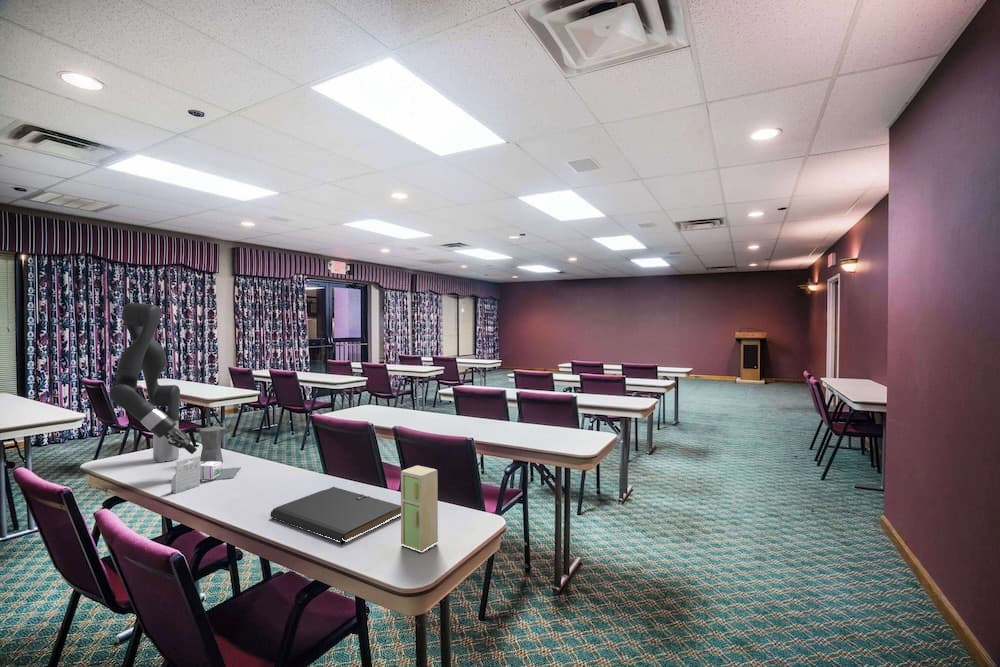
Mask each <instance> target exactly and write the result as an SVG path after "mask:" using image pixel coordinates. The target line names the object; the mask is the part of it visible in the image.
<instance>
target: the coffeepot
mask: <svg viewBox="0 0 1000 667" xmlns="http://www.w3.org/2000/svg"><path fill="white" fill-rule="evenodd" d="M227 431H229V429H228V428H226V427H222V426H215V425H214V422H213V421H210V422H209V426H206V427H204V428H203V427H193V428H191V430H189V432H188V437H189V439H190V442H191V445H193V446H194V447H195V448H199V447H200V444H197V441H196V439H195V434H194V433H197V434H198V433H199V435H200V440H201V446H202V449H201V452H200V461H218V462H222V463H223V462H224V459H223V454H222V449H221V448H222V447H221V444H222V440H223V437H224V436H225V434H226V433H227Z"/></svg>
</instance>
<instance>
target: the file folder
mask: <svg viewBox="0 0 1000 667" xmlns="http://www.w3.org/2000/svg"><path fill="white" fill-rule="evenodd" d="M400 513H401V504H396V503H392V502H389V501H385V500H381V499H378V498H374V497H371V496H370V495H365V494H361V493H357V492H354V491H351V490H350V491H349V490H347V489H343V488H340V487H336V486H332V487H329V488H327V489H323V490H319V491H317V492H314V493H312V494H309V495H305V496H304V497H301V498H297V499H295V500H292V501H290V502H289V501H288V502H287V503H284V504H281V505H278V506H276V507H274V508H273V509H272V510H271V512H270V515H269V516H270V518H271V517H273V518H276V519H278V520H281V521H284V522H286V523H285V524H287V523H289V524H292V525H295V526H298V527H301V528H303V529H306V530H310V531H312V532H315V533H318V534H321V535H323V536H327V537H330V538H332V539H335V540H338V541H340V542H342V543H343V541H342V538H343V539H344V540H347V539H349V538H351V537H354V536H356V535H358V534H360V533H363V532H365V531H367V530H369V529H371V528H373V527H375V526H377V525H379V524H381V523H383V522H385V521H386V520H388V519H390V518H392V517H394V516H396V515H398V514H400ZM273 518H272V519H273ZM276 519H275V520H276ZM278 520H277V521H278ZM281 521H280V522H281ZM284 522H283V523H284ZM289 524H288V525H289ZM292 525H291V526H292ZM295 526H294V527H295ZM303 529H302V530H303Z"/></svg>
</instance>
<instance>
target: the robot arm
mask: <svg viewBox="0 0 1000 667" xmlns="http://www.w3.org/2000/svg"><path fill="white" fill-rule="evenodd" d="M161 315H162V313H161V309H160V308H159V306H157V305H156V304H150V303H149V304H148V303H139V302H128V303H126V304H125V305H124V306H123V309H122V319H123V322H124V324H125V327H126V329H127V331H128V334H130V338H131V340H132V343H131V344H129V346H128V347H127V348H126V349H125V350H124V351H123V352H122V354H121V356H120V357H119V361H118V366H117V369H116V381H115V384H114V385H113V386H112V387H111V388H110V389H109V391H108V395H109V398H110V400H111V401H112V402H114V403H115V404H117V405H118V406H119V407H121V408H123V409H124V410H125V411H127V412H128V413H129V414H130V415H131V416H132V418H134V419H136V420H137V421H138V422H140V423H141V424H142V425H143V427H145V428H146V429H147V430H148V431H150V433H152V446H153V447H152V462H153V461H155V462H154V463H166V462H165V461H167V462H172V461H171V460H173V461H175V459H176V460H178V459H179V455H180V452H179V451H180V450H179V449H183V450H185V451H187V452H188V453H190V454H191V455H193V454H194V453H195V452H196V451H197V450H198V449H197V447H194V446H193V444H192V443H191V439H190V437H189V435H187V434H186V432H185V431H184V430H183V431H181V430H180V429H179V421H180V420H179V416H180V404H181V403H180V402H181V388H180V387H179V386H178V385H175V384H169V385H168V384H163V385H161V384H159V382H158V379H159V377H160V376H161V374H162V372H163V371H164V370H165V368H166V365H167V364H168V363H167V362H168V360H167V356H166V353H165V350H164V347H163V346H162V345H161V344H160V343H159V342H158V340H156V339H155V338H154V335H155V332H156V330H157V329H158V326H159V323H160V321H161ZM141 371H142V375H143V377H144V381H145V382H144V383H145V387H146V392H147V398H148V400H146V398H143V397H142V395H140V394H139V393H138V392H137V388H138V378H139V375H140V373H141ZM157 407H168V408H167V409H166V410H165V411H162V410H160V409H159V408H157ZM177 458H178V459H177Z"/></svg>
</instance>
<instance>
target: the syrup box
mask: <svg viewBox="0 0 1000 667" xmlns="http://www.w3.org/2000/svg"><path fill="white" fill-rule="evenodd" d="M189 463H193V460H192V461H190V460H188V461H187V462H185V463H184V464H189ZM176 468H177V465H176V466H175V469H176ZM221 469H223V468H222V463H221V462H218V461H200V479H209V480H210V481H213V480H212V479H214V478H216V477H218V476H220V475H221Z"/></svg>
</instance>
